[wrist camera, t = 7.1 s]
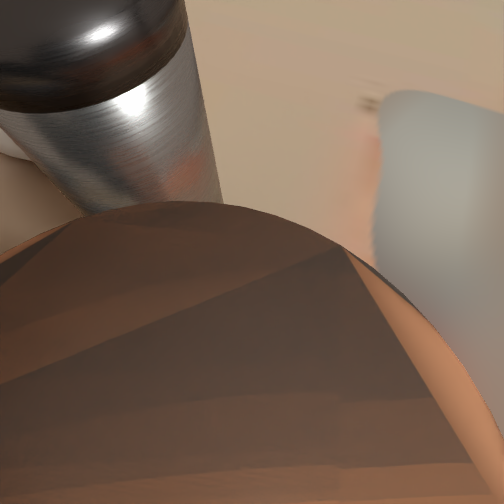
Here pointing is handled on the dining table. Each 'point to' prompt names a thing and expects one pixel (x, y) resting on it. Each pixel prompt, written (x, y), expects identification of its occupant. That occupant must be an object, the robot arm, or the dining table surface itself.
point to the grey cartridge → (107, 100)
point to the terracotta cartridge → (226, 370)
